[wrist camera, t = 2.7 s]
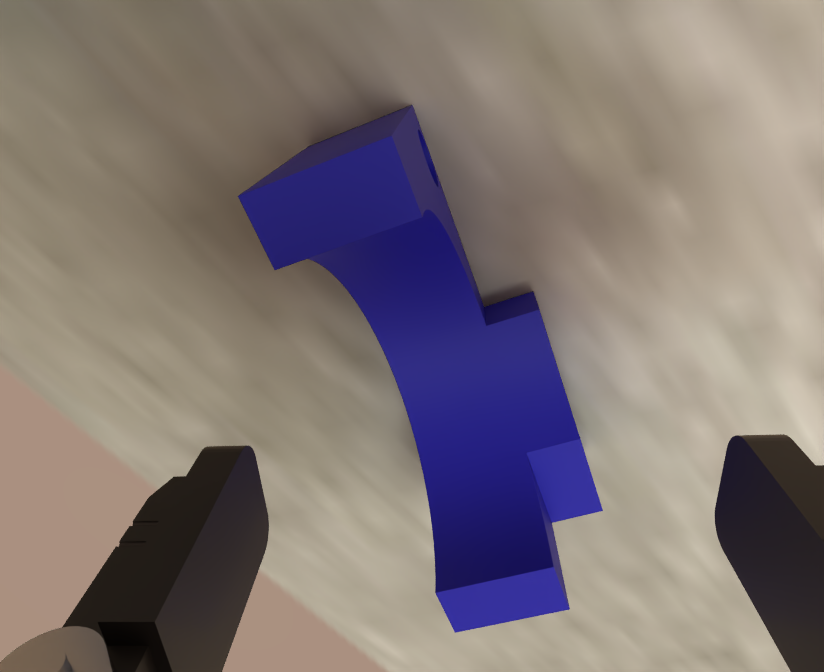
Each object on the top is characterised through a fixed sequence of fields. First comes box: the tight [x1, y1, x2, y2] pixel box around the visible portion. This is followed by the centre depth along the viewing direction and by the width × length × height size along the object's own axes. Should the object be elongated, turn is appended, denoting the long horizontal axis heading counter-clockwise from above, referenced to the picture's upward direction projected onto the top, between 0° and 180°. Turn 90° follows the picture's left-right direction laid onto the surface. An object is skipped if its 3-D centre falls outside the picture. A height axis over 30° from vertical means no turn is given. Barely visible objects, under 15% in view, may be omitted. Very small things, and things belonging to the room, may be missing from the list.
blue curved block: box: [238, 105, 603, 632], centre depth 15 cm, size 12×4×6 cm, turn 21°
